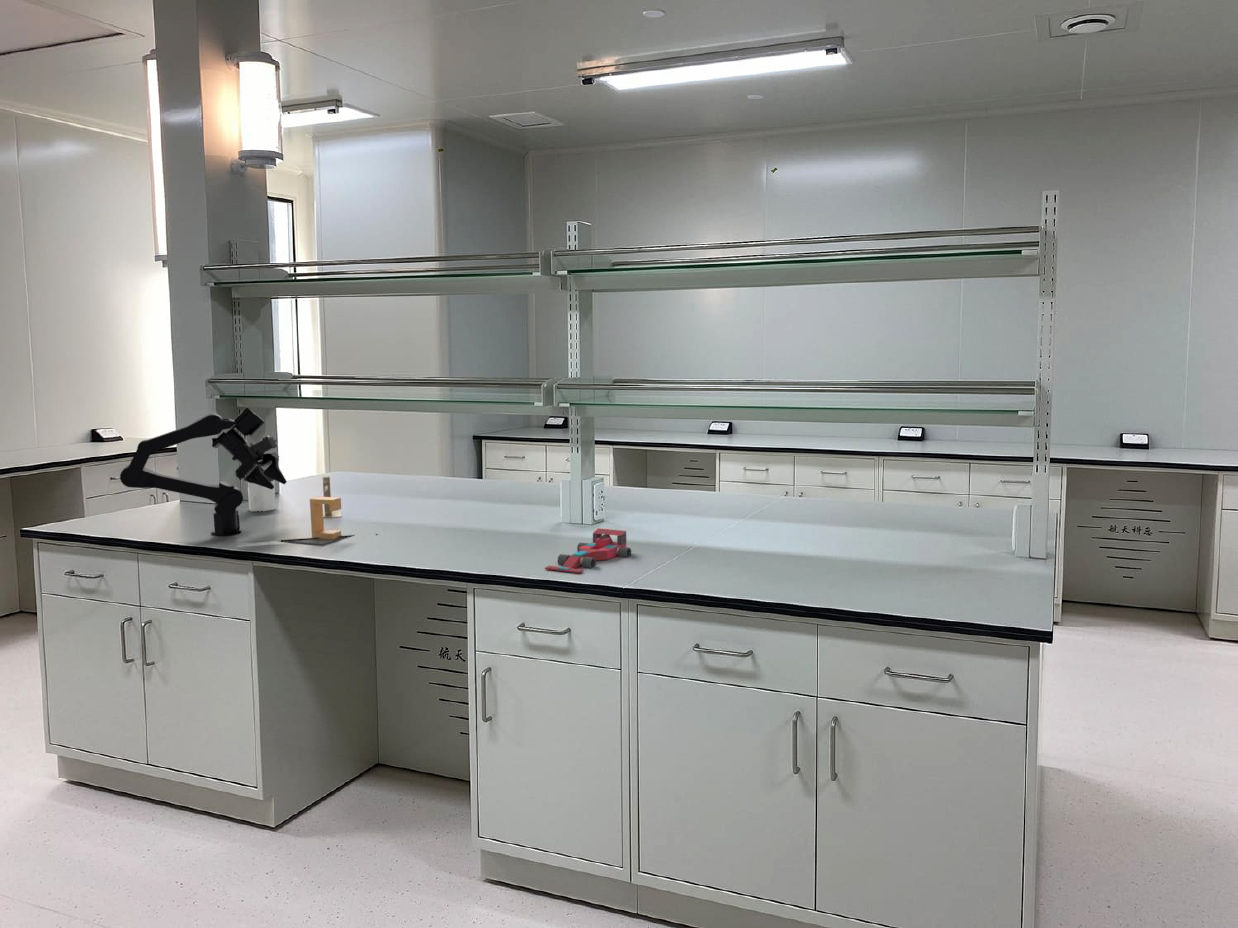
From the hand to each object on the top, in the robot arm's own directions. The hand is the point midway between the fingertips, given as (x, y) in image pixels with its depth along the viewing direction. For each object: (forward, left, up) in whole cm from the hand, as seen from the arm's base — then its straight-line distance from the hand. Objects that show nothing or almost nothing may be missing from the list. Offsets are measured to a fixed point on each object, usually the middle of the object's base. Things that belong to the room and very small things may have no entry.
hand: (279, 485), depth 279 cm
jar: (+28, +32, -14) cm, 45 cm away
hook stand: (+16, -3, -14) cm, 22 cm away
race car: (-4, -98, -14) cm, 99 cm away
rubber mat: (-4, -16, -14) cm, 21 cm away
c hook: (-4, -19, -13) cm, 23 cm away
